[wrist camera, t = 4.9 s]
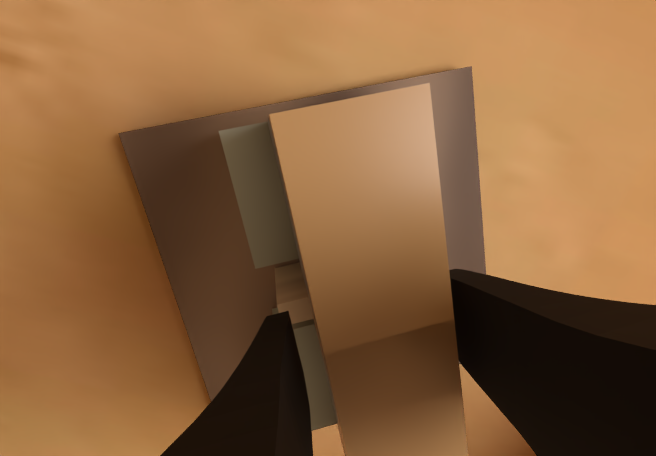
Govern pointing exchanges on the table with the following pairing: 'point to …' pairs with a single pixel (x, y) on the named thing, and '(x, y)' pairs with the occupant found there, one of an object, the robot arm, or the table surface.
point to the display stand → (273, 222)
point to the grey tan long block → (376, 268)
